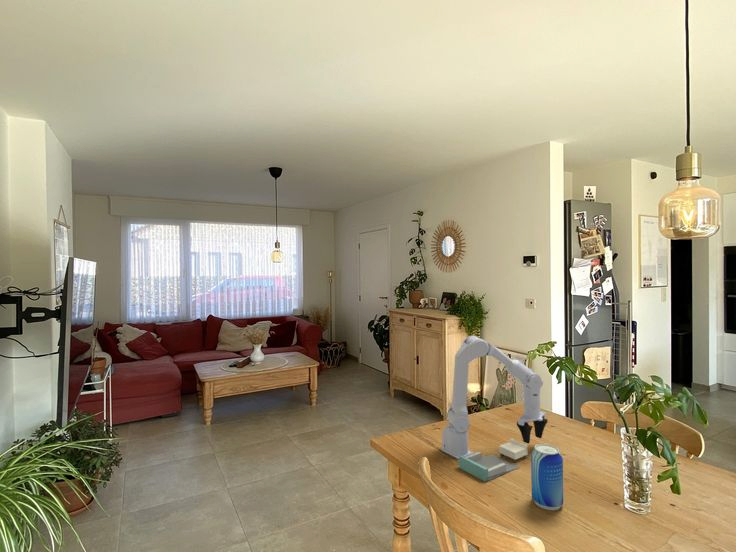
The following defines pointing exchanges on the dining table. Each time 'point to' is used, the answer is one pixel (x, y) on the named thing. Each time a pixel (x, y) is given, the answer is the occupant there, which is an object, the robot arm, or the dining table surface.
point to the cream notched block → (513, 449)
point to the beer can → (547, 477)
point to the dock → (485, 466)
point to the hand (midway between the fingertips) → (532, 439)
